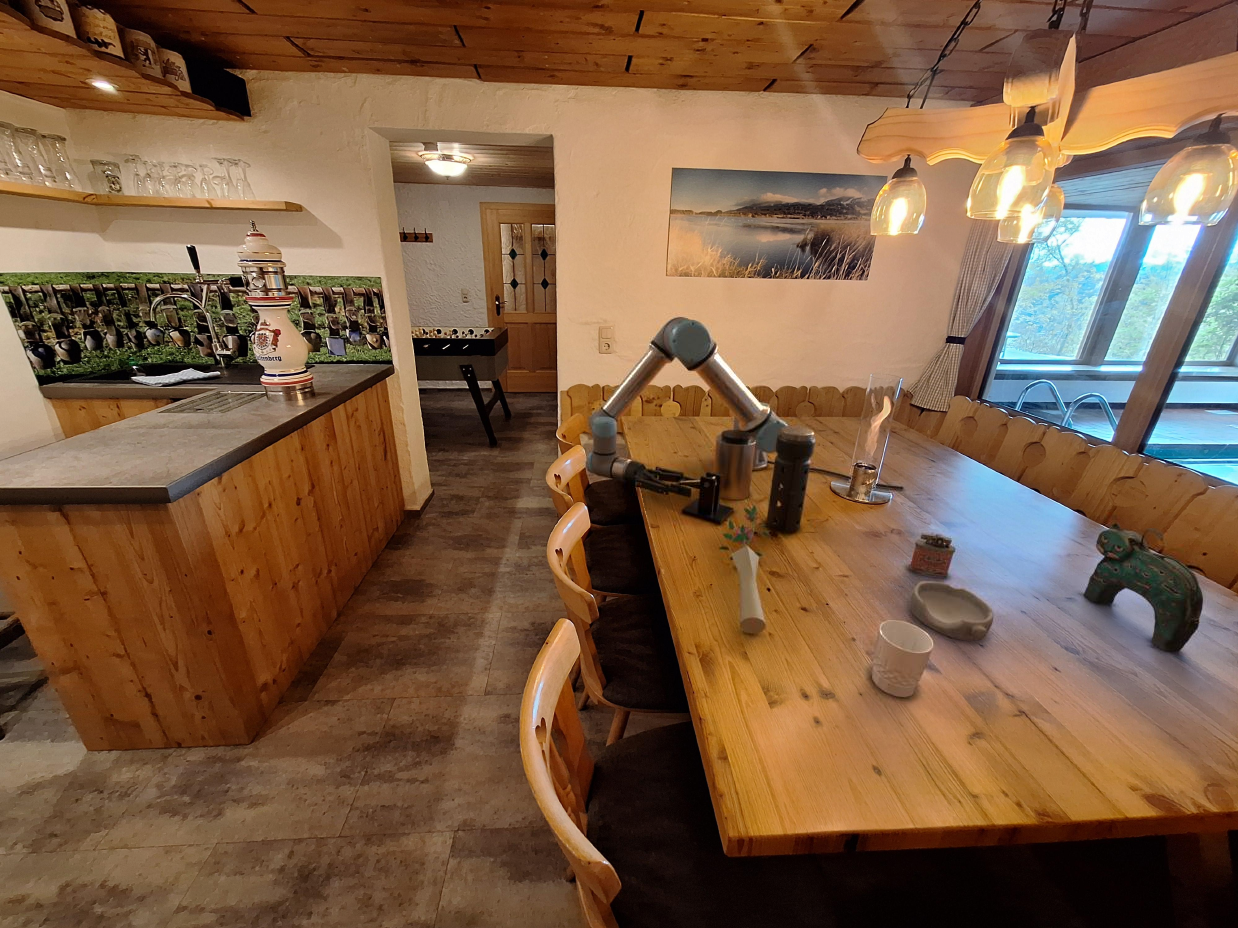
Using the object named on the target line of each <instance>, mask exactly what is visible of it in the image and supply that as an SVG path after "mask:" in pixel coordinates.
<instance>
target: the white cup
mask: <svg viewBox="0 0 1238 928" xmlns="http://www.w3.org/2000/svg"><path fill="white" fill-rule="evenodd" d="M934 645H935V644H934V640H933V638H932V637H931V636H930V635H929V634H928V633H927V631H925V630H923V629H921V628H920V627H919V626H916V625H914V624H912V623H909V622H907V621H904V620H896V619H889V620H885V621H882V622H881V623H880V624H879V627H878V632H877V638H876V643H875V648H874V654H873V661H872V668H871V673H870V674H871V679H872V681H873V683H874V684H875V685H876V687H877V688H879V689H880V690H882V691H883V692H885V693H887V694H889V695H891V696H894V697H899V698H907V697H911V696H913V695H914V694H915V692H916V690H917V687H918V685H919V683H920V681H921V679H922V676H923V674H924V672H925V669H926V667H927V664H928V661H929V660H930V656H931V654H932V651H933V650H934Z"/></svg>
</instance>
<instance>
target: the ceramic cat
mask: <svg viewBox="0 0 1238 928" xmlns="http://www.w3.org/2000/svg"><path fill="white" fill-rule="evenodd" d="M1150 531H1152V532H1154V533H1155V534H1156V535H1157V537H1158V538H1159V539H1160V541H1161V542H1162V541H1163V540H1164V537H1163V535H1162V533H1160V531H1158V530H1157V529H1155V528H1147V529H1146V530H1145V531H1144V532H1143V534H1142V535H1141V534H1140V533H1138V532H1136V531H1132V530H1124V529H1123V528H1121V526H1120V525H1119V524H1118V523H1116V522H1115V523H1113V524H1112V525H1111V526H1110V527H1109V528H1108V529H1105V530H1102V531H1101V532H1100V533H1099V535H1098V537H1097V540H1096V542H1095V548H1096V550H1097V552H1099V553H1100V555H1102V556H1104V557H1103V558H1102V559H1101V560H1099V562H1098V563H1097V565H1096V567H1095V568H1094V571H1093V573H1092V574H1091V575H1090V576H1089V580H1088V583H1087V586H1086V588H1085V590H1084V593H1083V596H1084V597H1086V598H1087V599H1089V600H1090V601H1091V602H1093V603H1095V604H1100V605H1113V604H1114V601H1115V599H1116V597H1117V595H1118V594H1119V593H1120V592H1123V590H1125V589H1126V590H1129V591H1132V592H1134V593H1135V594H1137V595H1139V596H1141V597H1142V598H1143V599H1145V601H1147V602H1148V604H1149V605H1150V606H1151V607H1152V609H1153V612H1154V614H1153V615H1154V625H1153V633H1152V638H1151V643H1152V644H1153V645H1154V646H1155V647H1157V648H1159V649H1161V650H1162V651H1164V652H1180V651H1181V650H1182V649H1183V648H1184V647H1185V645H1186V644H1187V643H1188V642H1189V641H1190V639H1191V638H1192V636H1193V635H1194V634H1195V633H1196V631H1197V630H1198V628H1199V626H1200V619H1201V614H1202V611H1203V606H1204V595H1203V592H1202V589H1201V587H1200V584H1199V581H1198V577H1197V576H1196V574H1195V573H1194V572H1193V571H1192V570H1191V569H1190V568H1189V567H1188V566H1187V565H1186V564H1184V563H1183V562H1181V561H1180V560H1178V559H1176V558H1174V557H1171V556H1168V555H1163V554H1160V553H1157V552H1153V551H1151V549H1150V547H1149V544H1148V543H1147V541H1146V539H1145V536H1146V534H1147V532H1150Z"/></svg>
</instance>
